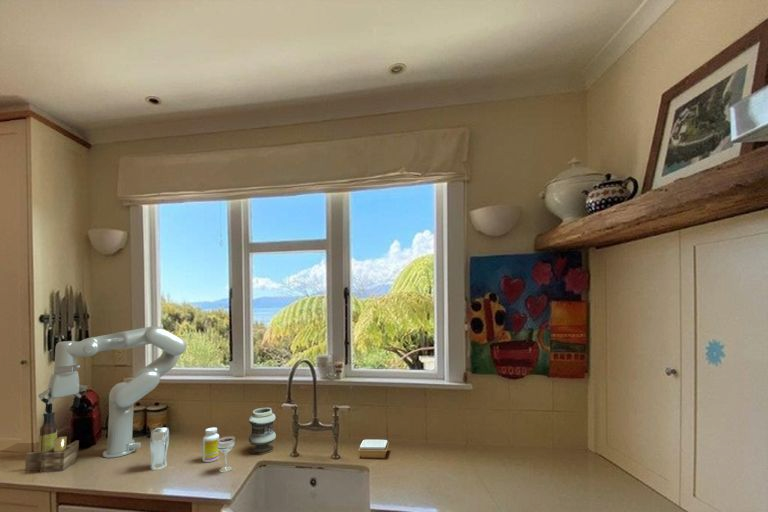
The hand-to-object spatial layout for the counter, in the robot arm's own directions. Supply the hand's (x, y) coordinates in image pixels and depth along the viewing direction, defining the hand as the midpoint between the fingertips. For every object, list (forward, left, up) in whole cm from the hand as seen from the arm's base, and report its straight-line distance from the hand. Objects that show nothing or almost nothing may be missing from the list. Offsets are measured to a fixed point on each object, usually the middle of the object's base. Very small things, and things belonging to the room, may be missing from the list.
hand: (62, 410), depth 166 cm
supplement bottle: (-63, +7, -24) cm, 68 cm away
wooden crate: (+4, -3, -24) cm, 24 cm away
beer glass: (-43, +10, -24) cm, 50 cm away
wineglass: (-72, +19, -24) cm, 78 cm away
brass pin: (0, +1, -24) cm, 24 cm away
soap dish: (-134, +17, -24) cm, 138 cm away
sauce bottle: (+13, -13, -24) cm, 30 cm away
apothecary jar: (-84, +1, -24) cm, 87 cm away
